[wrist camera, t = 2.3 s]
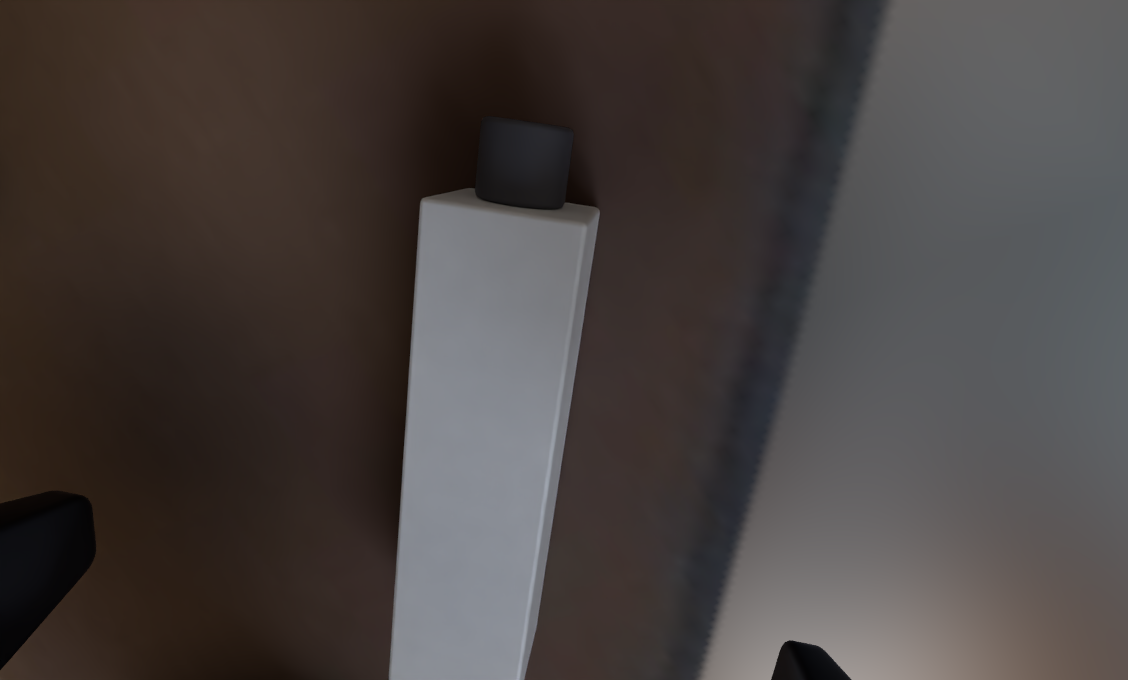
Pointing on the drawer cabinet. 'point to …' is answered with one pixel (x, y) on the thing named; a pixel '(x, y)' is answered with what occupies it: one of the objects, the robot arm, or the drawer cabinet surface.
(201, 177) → the drawer cabinet surface
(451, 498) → the square white bottle
